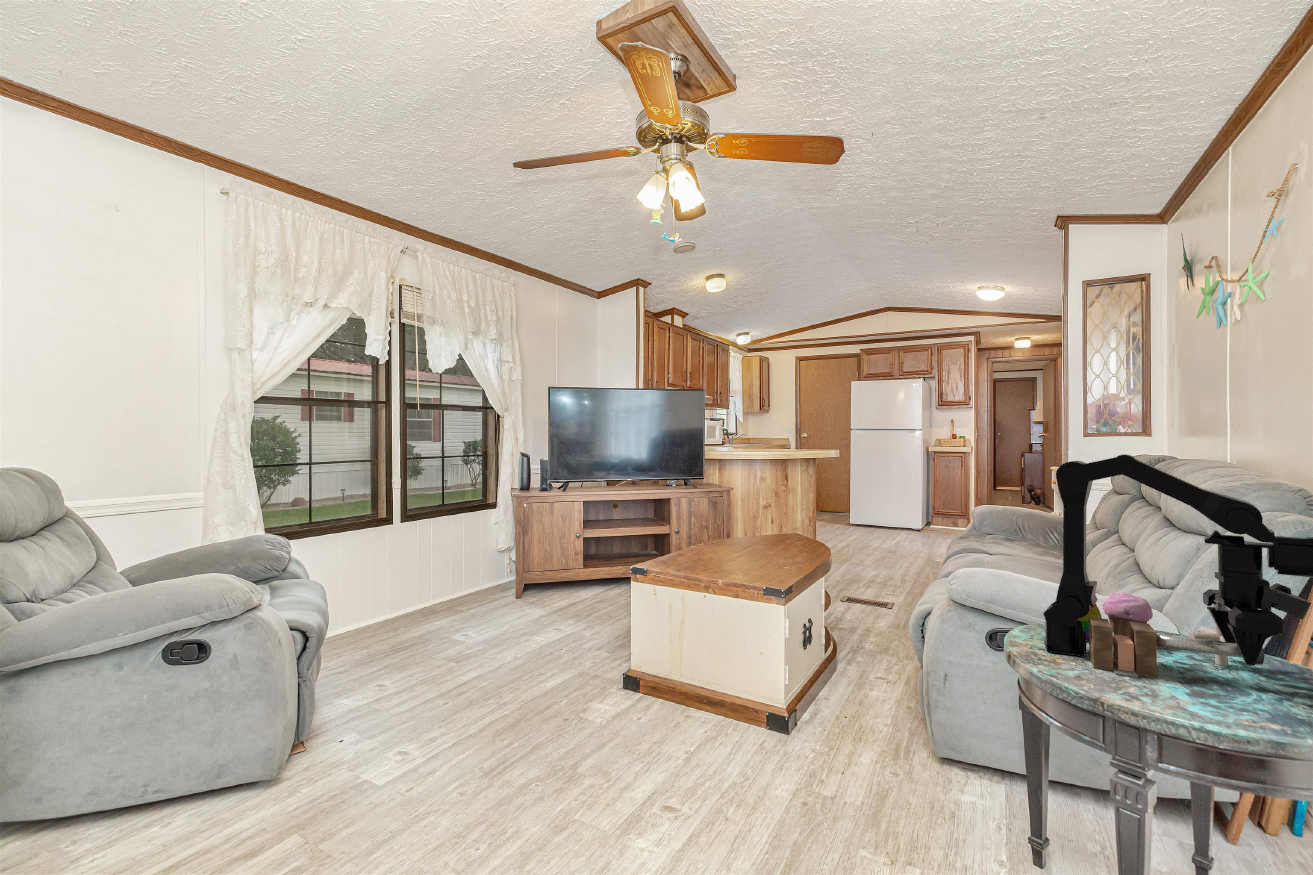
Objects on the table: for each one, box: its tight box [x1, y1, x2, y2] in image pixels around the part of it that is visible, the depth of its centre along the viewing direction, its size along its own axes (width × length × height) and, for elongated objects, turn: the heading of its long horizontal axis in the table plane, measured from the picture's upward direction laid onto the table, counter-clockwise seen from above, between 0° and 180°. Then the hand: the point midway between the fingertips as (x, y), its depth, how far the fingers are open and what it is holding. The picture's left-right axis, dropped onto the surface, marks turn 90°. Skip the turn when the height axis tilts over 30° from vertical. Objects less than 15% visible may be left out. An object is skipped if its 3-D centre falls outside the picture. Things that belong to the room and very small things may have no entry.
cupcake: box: [1102, 592, 1154, 638], centre depth 131 cm, size 9×9×10 cm
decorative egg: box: [1078, 603, 1103, 642], centre depth 133 cm, size 8×8×10 cm
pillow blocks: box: [1088, 617, 1158, 678], centre depth 115 cm, size 10×6×8 cm, turn 61°
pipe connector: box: [1188, 621, 1229, 667], centre depth 116 cm, size 10×10×10 cm
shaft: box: [1156, 633, 1265, 666], centre depth 110 cm, size 17×4×4 cm, turn 61°
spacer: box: [1113, 634, 1134, 672], centre depth 115 cm, size 2×5×5 cm, turn 151°
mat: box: [1112, 660, 1139, 679], centre depth 115 cm, size 3×10×1 cm, turn 151°
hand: (1241, 657), depth 107 cm, fingers open, 8 cm apart
